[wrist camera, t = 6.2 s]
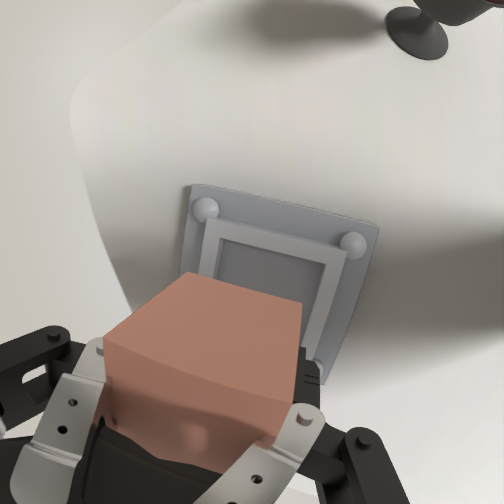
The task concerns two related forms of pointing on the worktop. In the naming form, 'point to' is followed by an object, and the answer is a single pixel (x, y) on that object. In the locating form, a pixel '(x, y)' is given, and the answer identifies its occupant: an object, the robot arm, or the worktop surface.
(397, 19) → the sundae
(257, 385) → the block
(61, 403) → the robot arm
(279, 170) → the worktop surface
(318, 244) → the plate
